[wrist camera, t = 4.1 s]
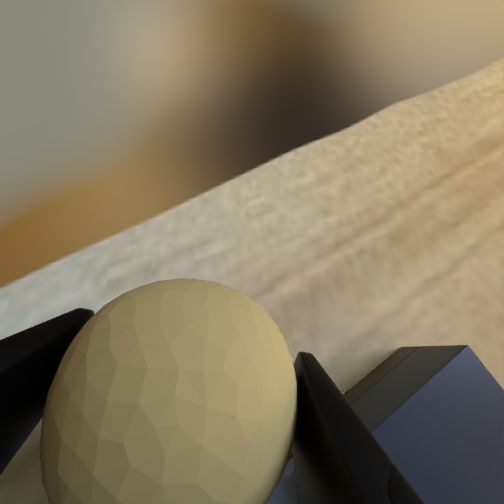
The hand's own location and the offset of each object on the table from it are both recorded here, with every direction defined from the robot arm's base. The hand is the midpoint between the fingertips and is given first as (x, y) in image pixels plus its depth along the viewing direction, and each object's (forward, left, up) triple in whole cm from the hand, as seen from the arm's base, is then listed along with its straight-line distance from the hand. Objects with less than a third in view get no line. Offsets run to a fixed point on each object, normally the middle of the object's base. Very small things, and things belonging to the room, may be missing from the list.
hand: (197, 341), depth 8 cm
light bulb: (-1, -1, -7) cm, 7 cm away
